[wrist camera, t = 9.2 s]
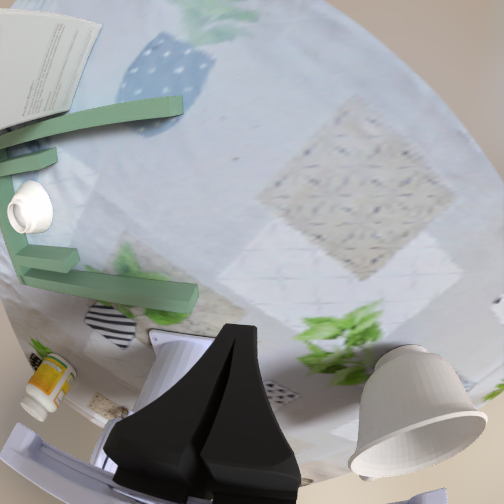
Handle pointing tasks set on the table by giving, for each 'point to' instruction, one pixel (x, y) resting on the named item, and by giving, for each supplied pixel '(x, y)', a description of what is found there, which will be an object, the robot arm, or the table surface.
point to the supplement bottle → (48, 386)
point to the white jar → (30, 209)
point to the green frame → (64, 259)
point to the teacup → (412, 415)
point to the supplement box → (41, 62)
